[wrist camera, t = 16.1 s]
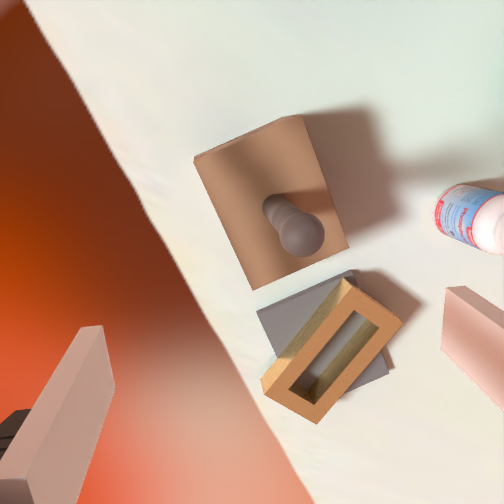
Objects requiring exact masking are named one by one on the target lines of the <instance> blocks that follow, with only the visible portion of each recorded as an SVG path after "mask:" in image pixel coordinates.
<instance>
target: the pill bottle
mask: <svg viewBox="0 0 504 504" xmlns="http://www.w3.org/2000/svg"><path fill="white" fill-rule="evenodd" d="M432 216H433V222H434V224H435V226H436V228H437V229H438V230H439V231H440V232H441V233H443V234H445V235H447V236H449V237H452V238H454V239H457V240H459V241H461V242H463V243H466V244H468V245H470V246H473V247H475V248H477V249H480V250H482V251H484V252H487V253H490V254H495V255H504V193H502V192H497V191H493V190H488V189H484V188H479V187H475V186H471V185H463V184H461V185H455V186H453V187H451V188H449V189H447V190H446V191H444V192H443V193H442V194H441V195H440V196H439V197H438V199H437V200H436V202H435V204H434V207H433V212H432Z"/></svg>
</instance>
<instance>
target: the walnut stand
mask: <svg viewBox="0 0 504 504" xmlns="http://www.w3.org/2000/svg"><path fill="white" fill-rule="evenodd" d="M193 163H194V165H195V167H196V169H197V171H198V173H199V176H200V178H201V180H202V182H203V184H204V186H205V189H206V191H207V193H208V195H209V197H210V199H211V202H212V204H213V206H214V208H215V210H216V212H217V215H218V217H219V219H220V221H221V223H222V225H223V227H224V230H225V232H226V234H227V236H228V238H229V240H230V243H231V245H232V247H233V249H234V251H235V253H236V256H237V258H238V260H239V262H240V264H241V266H242V269H243V271H244V273H245V275H246V277H247V279H248V282H249V284H250V286H251V288H252V290H256V289H258V288H260V287H262V286H265V285H267V284H269V283H271V282H274V281H276V280H278V279H280V278H283V277H285V276H287V275H289V274H292V273H294V272H296V271H298V270H301V269H303V268H305V267H307V266H310V265H312V264H314V263H316V262H319V261H321V260H323V259H325V258H328V257H330V256H332V255H334V254H337V253H339V252H341V251H343V250H346V249H348V248H349V246H348V243H347V240H346V237H345V235H344V232H343V229H342V226H341V224H340V221H339V218H338V215H337V212H336V210H335V207H334V204H333V201H332V199H331V196H330V193H329V190H328V188H327V185H326V182H325V179H324V176H323V174H322V171H321V168H320V165H319V163H318V160H317V157H316V154H315V152H314V149H313V146H312V143H311V140H310V138H309V135H308V132H307V129H306V127H305V124H304V121H303V118H302V115H301V114H300V115H293V116H286V117H282V118H280V119H277V120H275V121H273V122H271V123H268V124H266V125H264V126H262V127H259V128H257V129H255V130H253V131H250V132H248V133H246V134H244V135H241V136H239V137H237V138H235V139H233V140H230V141H228V142H226V143H224V144H221V145H219V146H217V147H215V148H212V149H210V150H208V151H206V152H203V153H201V154H199V155H197V156H195V157H194V162H193Z"/></svg>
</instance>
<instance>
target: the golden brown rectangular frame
mask: <svg viewBox="0 0 504 504" xmlns="http://www.w3.org/2000/svg"><path fill="white" fill-rule="evenodd" d="M354 310H355V311H356V312H358V313H359V314H360V315H362V316H363V317H365V318H366V319H367V320H366V321H365V322H364V323H363V324H362V326H361V327H360V328H359V329H358V330H357V332H356V333H355V334H354V335H353V336H352V338H351V339H350V340H349V341H348V342H347V344H346V345H345V346H344V347H343V348H342V350H341V351H340V352H339V353H338V354H337V356H336V357H335V358H334V359H333V360H332V361H331V363H330V364H329V365H328V366H327V367H326V369H325V370H324V371H323V372H322V373H321V375H320V376H319V377H318V378H317V379H316V381H315V382H314V383H313V384H312V385H311V387H310V388H309V389H306V388H304V387H303V386H301V385H299V384H298V383H296V382H295V381H296V380H297V378H298V377H299V376H300V375H301V373H302V372H303V371H304V370H305V369H306V367H307V366H308V365H309V364H310V363H311V361H312V360H313V359H314V358H315V357H316V355H317V354H318V353H319V352H320V350H321V349H322V348H323V347H324V346H325V344H326V343H327V342H328V341H329V340H330V338H331V337H332V336H333V335H334V334H335V332H336V331H337V330H338V329H339V327H340V326H341V325H342V324H343V323H344V321H345V320H346V319H347V318H348V317H349V315H350V314H351V313H352V312H353V311H354ZM402 324H403V322H402V321H401V320H400V319H399V318H398V317H396V316H395V315H394V314H393V313H392V312H391V311H390V310H388V309H387V308H385V307H384V306H383V305H381V304H380V303H378V302H377V301H376V300H374V299H373V298H371V297H370V296H369V295H367V294H366V293H365V292H363V291H362V290H360V289H359V288H358V287H356V286H355V285H353V284H352V283H351V282H349V281H348V280H346V279H345V278H344V277H343V278H342V279H341V280H340V281H339V283H338V284H337V285H336V286H335V287H334V289H333V290H332V291H331V292H330V294H329V295H328V296H327V297H326V299H325V300H324V301H323V302H322V304H321V305H320V306H319V307H318V309H317V310H316V311H315V312H314V314H313V315H312V316H311V317H310V318H309V320H308V321H307V322H306V323H305V325H304V326H303V327H302V328H301V330H300V331H299V332H298V333H297V335H296V336H295V337H294V338H293V340H292V341H291V342H290V343H289V345H288V346H287V347H286V348H285V349H284V351H283V352H282V353H281V354H280V356H279V357H278V358H277V359H276V361H275V362H274V363H273V364H272V366H271V367H270V368H269V369H268V371H267V372H266V373H265V374H264V376H263V377H262V378H261V379H260V380H261V384H262V388H263V392H264V395H266V396H267V397H269V398H271V399H273V400H274V401H276V402H278V403H280V404H281V405H283V406H285V407H287V408H288V409H290V410H292V411H294V412H295V413H297V414H299V415H301V416H302V417H304V418H306V419H308V420H309V421H311V422H313V423H315V424H316V425H317V424H318V422H319V421H320V420H321V419H322V418H323V417H324V415H325V414H326V413H327V412H328V411H329V410H330V408H331V407H332V406H333V405H334V404H335V403H336V401H337V400H338V399H339V398H340V397H341V396H342V394H343V393H344V392H345V391H346V390H347V389H348V387H349V386H350V385H351V384H352V383H353V382H354V380H355V379H356V378H357V377H358V376H359V375H360V373H361V372H362V371H363V370H364V369H365V368H366V366H367V365H368V364H369V363H370V362H371V361H372V359H373V358H374V357H375V356H376V355H377V354H378V352H379V351H380V350H381V349H382V348H383V347H384V345H385V344H386V343H387V342H388V341H389V340H390V338H391V337H392V336H393V335H394V334H395V333H396V331H397V330H398V329H399V328H400V327H401V326H402Z"/></svg>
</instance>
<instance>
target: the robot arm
mask: <svg viewBox="0 0 504 504" xmlns="http://www.w3.org/2000/svg"><path fill="white" fill-rule="evenodd" d="M441 350H442V351H443V352H444V353H445V354H446V355H447V356H448V357H449V358H450V359H451V360H452V361H453V362H454V363H455V364H456V365H457V366H458V367H459V368H460V369H461V370H462V371H463V372H464V373H465V374H466V375H467V376H468V377H469V378H470V379H471V380H472V381H473V382H474V383H475V384H476V385H477V386H478V387H479V388H480V389H481V390H482V391H483V392H484V393H485V394H486V395H487V396H488V397H489V398H490V399H491V400H492V401H493V402H494V403H495V404H496V405H497V406H498V407H499V408H500V409H501V410H502V411H503V412H504V311H502V310H501V309H499V308H498V307H496V306H495V305H493V304H492V303H490V302H489V301H487V300H486V299H484V298H483V297H481V296H480V295H478V294H477V293H475V292H474V291H472V290H470V289H469V288H467V287H466V286H458V287H448V288H446V293H445V304H444V315H443V326H442V337H441ZM115 389H116V388H115V383H114V379H113V374H112V369H111V364H110V360H109V355H108V350H107V345H106V341H105V336H104V331H103V326H102V325H101V326H91V327H82V328H80V330H79V332H78V334H77V335H76V337H75V338H74V340H73V342H72V343H71V345H70V346H69V348H68V350H67V352H66V353H65V355H64V356H63V358H62V360H61V361H60V363H59V365H58V367H57V368H56V369H55V371H54V373H53V374H52V376H51V378H50V380H49V381H48V383H47V384H46V386H45V388H44V389H43V391H42V393H41V394H40V396H39V398H38V399H37V401H36V403H35V404H34V406H33V407H32V409H25V410H17V411H15V412H13V413H12V414H11V415H10V416H9V417H8V418H6V419H5V420H4V421H3V422H2V423H1V424H0V504H76V502H77V500H78V497H79V494H80V491H81V488H82V485H83V482H84V479H85V476H86V473H87V471H88V468H89V465H90V462H91V459H92V456H93V453H94V450H95V447H96V444H97V441H98V438H99V436H100V433H101V430H102V427H103V424H104V421H105V418H106V415H107V412H108V409H109V406H110V403H111V400H112V398H113V394H114V392H115Z"/></svg>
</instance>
